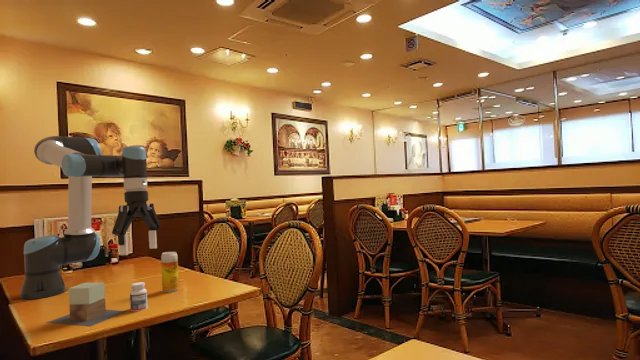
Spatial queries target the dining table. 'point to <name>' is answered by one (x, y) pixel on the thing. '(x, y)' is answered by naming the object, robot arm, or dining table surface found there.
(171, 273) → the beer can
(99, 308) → the block lower
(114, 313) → the mat
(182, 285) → the dining table surface
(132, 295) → the pill bottle
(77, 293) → the block upper
